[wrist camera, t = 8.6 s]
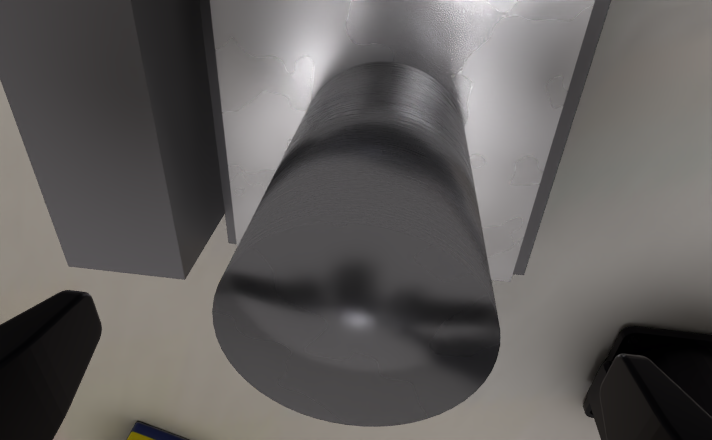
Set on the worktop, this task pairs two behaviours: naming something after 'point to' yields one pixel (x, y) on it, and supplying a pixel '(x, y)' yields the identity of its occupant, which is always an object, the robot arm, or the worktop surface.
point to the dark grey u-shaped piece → (151, 127)
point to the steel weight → (365, 260)
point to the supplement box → (150, 433)
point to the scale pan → (416, 49)
